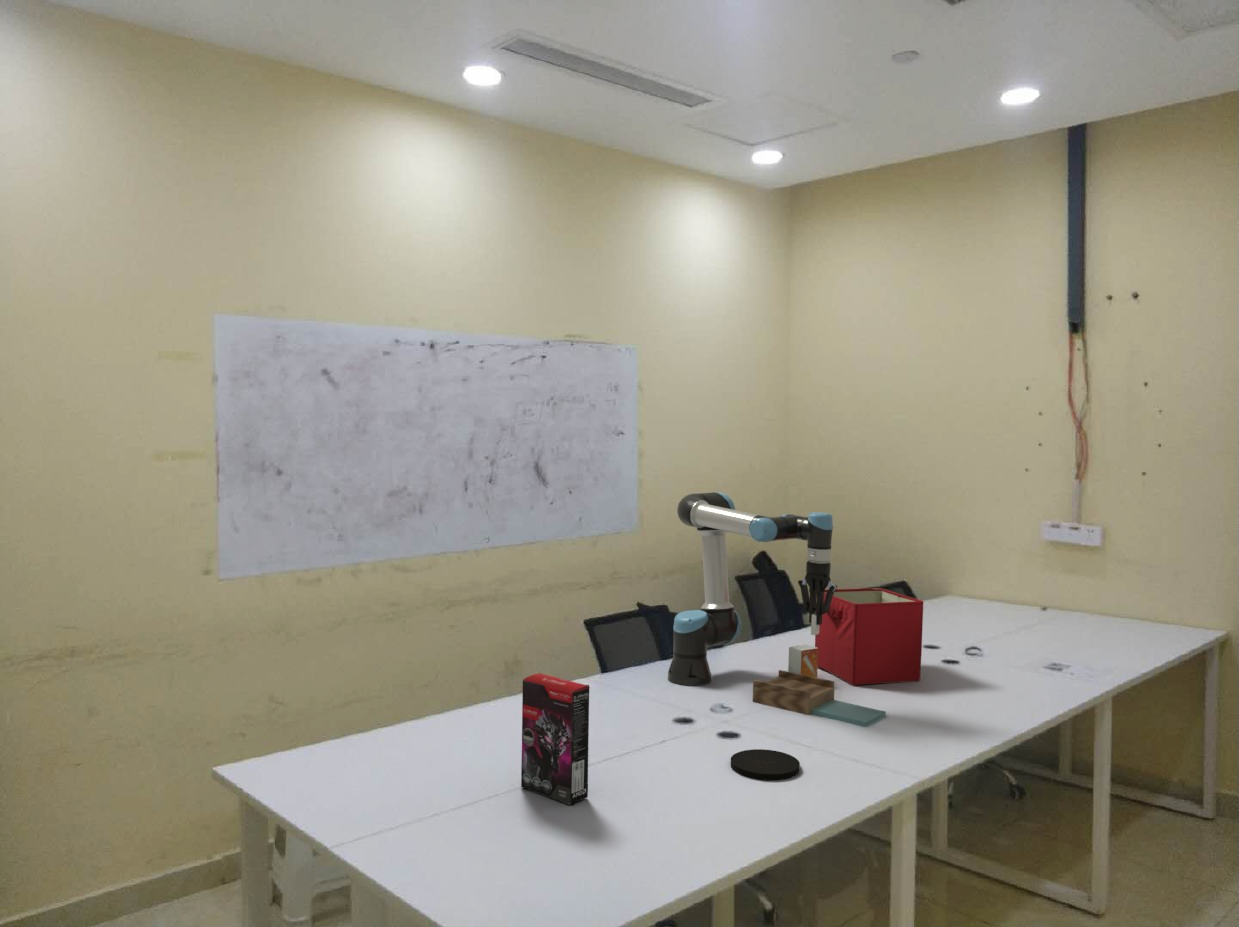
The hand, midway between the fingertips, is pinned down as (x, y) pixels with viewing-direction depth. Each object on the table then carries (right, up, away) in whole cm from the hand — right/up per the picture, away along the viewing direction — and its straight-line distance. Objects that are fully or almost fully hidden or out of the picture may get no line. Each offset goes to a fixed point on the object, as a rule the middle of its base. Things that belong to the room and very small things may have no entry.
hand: (814, 633), depth 299 cm
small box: (0, -22, +23) cm, 32 cm away
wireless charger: (-25, -25, -55) cm, 66 cm away
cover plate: (+8, -24, -10) cm, 27 cm away
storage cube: (+26, -22, +38) cm, 51 cm away
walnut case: (-7, -22, +2) cm, 23 cm away
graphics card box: (-78, -25, -74) cm, 111 cm away
